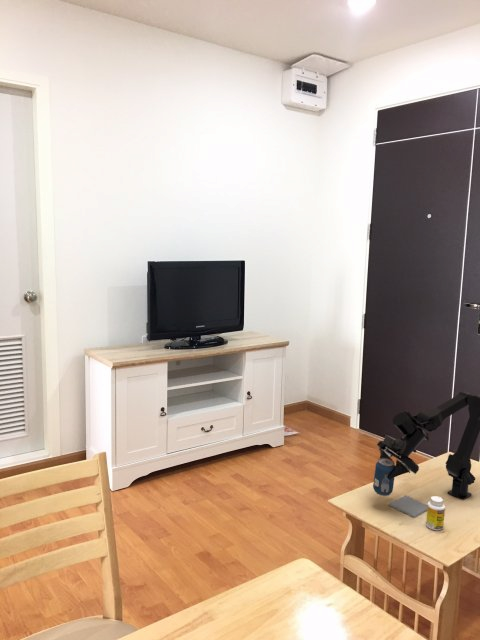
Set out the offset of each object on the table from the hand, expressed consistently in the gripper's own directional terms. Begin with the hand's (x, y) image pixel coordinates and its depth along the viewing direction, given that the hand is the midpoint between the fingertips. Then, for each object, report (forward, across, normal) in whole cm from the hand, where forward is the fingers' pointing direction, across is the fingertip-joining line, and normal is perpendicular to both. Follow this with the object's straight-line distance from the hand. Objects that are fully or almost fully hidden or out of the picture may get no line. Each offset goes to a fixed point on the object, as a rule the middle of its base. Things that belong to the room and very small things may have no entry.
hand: (382, 474), depth 191 cm
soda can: (+4, -1, +6) cm, 7 cm away
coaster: (+2, +2, +17) cm, 17 cm away
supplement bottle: (+2, +16, +17) cm, 24 cm away
